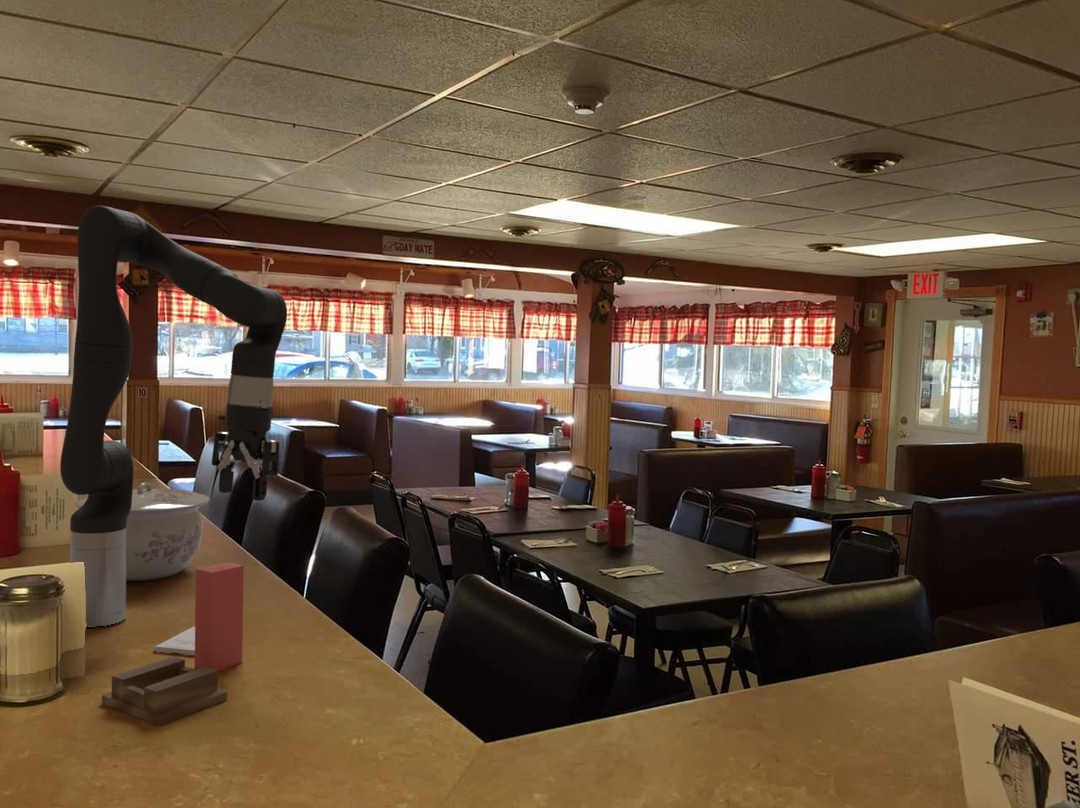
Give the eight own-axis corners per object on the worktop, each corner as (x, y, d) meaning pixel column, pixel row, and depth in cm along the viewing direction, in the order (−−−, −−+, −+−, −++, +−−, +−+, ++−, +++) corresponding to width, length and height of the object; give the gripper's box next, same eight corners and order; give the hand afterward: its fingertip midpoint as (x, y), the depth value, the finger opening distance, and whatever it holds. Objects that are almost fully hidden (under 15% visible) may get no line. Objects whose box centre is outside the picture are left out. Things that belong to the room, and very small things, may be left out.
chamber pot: (90, 597, 175) (90, 495, 174) (63, 568, 197) (63, 478, 195) (229, 578, 193) (230, 486, 192) (190, 554, 214) (191, 470, 213)
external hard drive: (237, 636, 156) (197, 659, 143) (196, 632, 157) (153, 654, 145) (237, 627, 156) (197, 650, 143) (196, 623, 157) (153, 645, 145)
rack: (102, 703, 123) (102, 674, 123) (170, 680, 133) (170, 653, 133) (159, 725, 117) (159, 695, 116) (226, 699, 126) (227, 671, 126)
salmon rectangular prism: (194, 667, 138) (195, 568, 137) (225, 657, 143) (227, 561, 143) (211, 673, 136) (212, 572, 135) (242, 662, 141) (243, 565, 140)
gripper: (204, 398, 150) (196, 491, 150) (260, 406, 142) (251, 504, 143) (240, 399, 156) (232, 488, 156) (295, 407, 149) (287, 501, 149)
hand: (241, 496), depth 150 cm, fingers open, 8 cm apart
